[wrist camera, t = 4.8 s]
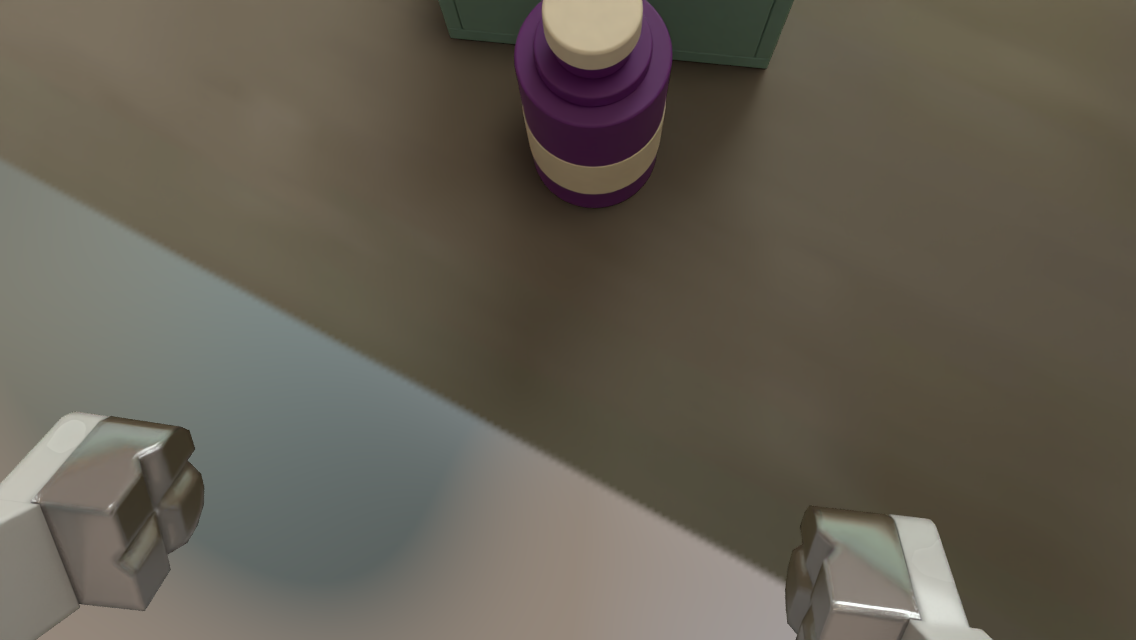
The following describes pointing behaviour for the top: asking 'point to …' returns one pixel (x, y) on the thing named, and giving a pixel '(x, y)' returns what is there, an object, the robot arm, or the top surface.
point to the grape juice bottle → (593, 95)
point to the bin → (685, 3)
